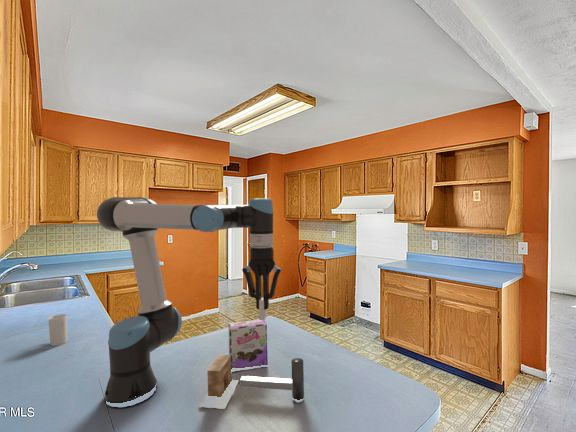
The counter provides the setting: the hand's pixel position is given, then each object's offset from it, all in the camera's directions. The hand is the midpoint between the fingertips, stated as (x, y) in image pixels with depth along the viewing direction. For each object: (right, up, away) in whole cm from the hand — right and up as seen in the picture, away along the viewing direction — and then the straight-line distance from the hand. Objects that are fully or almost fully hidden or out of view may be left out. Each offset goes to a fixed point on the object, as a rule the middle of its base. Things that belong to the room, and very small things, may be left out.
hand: (262, 318), depth 102 cm
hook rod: (+3, -23, -4) cm, 24 cm away
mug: (-97, -24, +41) cm, 108 cm away
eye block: (-13, -24, -2) cm, 27 cm away
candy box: (-7, -23, +16) cm, 29 cm away
